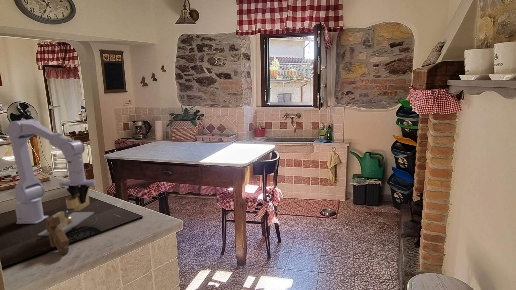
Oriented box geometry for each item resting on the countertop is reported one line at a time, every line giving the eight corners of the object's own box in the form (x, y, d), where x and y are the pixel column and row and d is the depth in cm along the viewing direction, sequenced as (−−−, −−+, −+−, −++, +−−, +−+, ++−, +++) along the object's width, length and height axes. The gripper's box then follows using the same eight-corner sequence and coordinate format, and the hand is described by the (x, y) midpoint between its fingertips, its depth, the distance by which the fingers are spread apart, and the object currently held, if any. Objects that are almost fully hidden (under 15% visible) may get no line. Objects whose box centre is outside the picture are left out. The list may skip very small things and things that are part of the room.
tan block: (74, 214, 137) (72, 200, 136) (66, 214, 137) (64, 200, 136) (91, 203, 149) (89, 190, 148) (83, 203, 149) (81, 190, 148)
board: (62, 235, 136) (61, 234, 135) (37, 235, 136) (37, 234, 136) (94, 213, 159) (94, 212, 159) (73, 213, 160) (73, 212, 160)
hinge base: (57, 232, 138) (54, 217, 137) (49, 232, 138) (47, 217, 137) (74, 221, 149) (72, 207, 148) (66, 221, 149) (64, 207, 148)
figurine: (60, 263, 121) (45, 237, 130) (68, 261, 123) (52, 235, 131) (61, 234, 116) (45, 208, 124) (69, 232, 117) (52, 207, 126)
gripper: (52, 173, 138) (57, 206, 141) (88, 173, 137) (92, 206, 140) (63, 169, 145) (68, 200, 148) (97, 168, 144) (101, 200, 146)
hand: (80, 202), depth 144 cm, fingers closed on tan block, 2 cm apart
